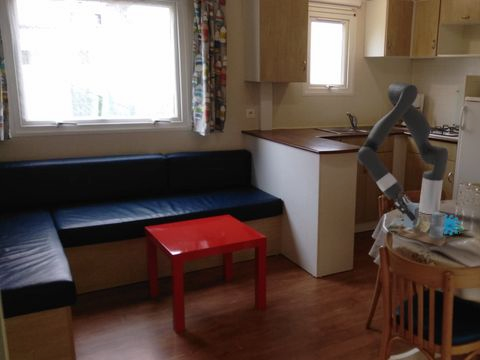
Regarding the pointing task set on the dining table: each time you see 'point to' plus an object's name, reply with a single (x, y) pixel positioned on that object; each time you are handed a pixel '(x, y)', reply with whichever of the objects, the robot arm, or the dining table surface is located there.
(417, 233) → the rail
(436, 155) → the robot arm
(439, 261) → the dining table surface
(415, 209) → the light grey block
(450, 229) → the gear
